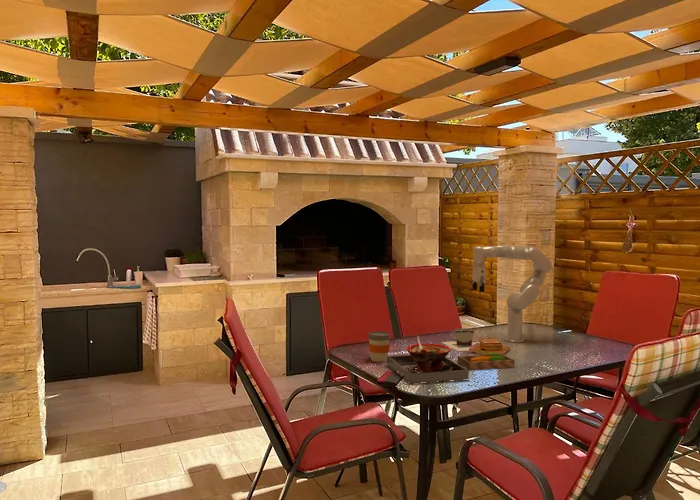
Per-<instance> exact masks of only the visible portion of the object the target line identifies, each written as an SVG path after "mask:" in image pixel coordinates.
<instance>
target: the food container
mask: <svg viewBox="0 0 700 500" xmlns="http://www.w3.org/2000/svg"><path fill="white" fill-rule="evenodd" d="M454 333H455V339H456V342H457V346H472V342H473V338H474V334H475V330H474V329H472V328H456V329H455V330H454Z"/></svg>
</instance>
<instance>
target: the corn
mask: <svg viewBox="0 0 700 500" xmlns="http://www.w3.org/2000/svg"><path fill="white" fill-rule="evenodd" d="M489 354H492V355H489ZM498 354H499V355H498ZM501 354H502V353H499V352H483V353H480V355H483V356H478V357H475V358H472V359H471V360H470V361H471V362H482V361H498V360H505V358H504V357H503V356H502V355H501Z"/></svg>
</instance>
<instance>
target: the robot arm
mask: <svg viewBox="0 0 700 500" xmlns="http://www.w3.org/2000/svg"><path fill="white" fill-rule="evenodd" d="M472 253H473V256H472V258H473V259H472V276H471V282H472V283H471V284H472V285H471V286H472V291H477V290H478V284H479V293H485V287H486V281H487V279H486V278H487V276H486V268H485V266H486V265H485V263H486V258H490V259H493V258H503V259H510V260H530V261H532V267H533V272H532V273H531V275H530V276H529V278H528V279H526V281H524V283H522V284H521V285H520V287H519V292H520V293H516V292H513V293H511V294H509V295H508V296H507V300H506V304H507V305H506V306H507V334H506V336H505V337H504V341H506V342H510V343H523V342H525V339H526V338H529V336H530V335H529V334H523V322H524V321H523V320H524V319H523V317H524V315H523V314H524V312H523V310H526V308H527V307H529V306H530V305H531V304H532V303H533V302H534V301H535V300H536V299H537V298H538V297H539V295H540V291H541V290H540V286H541V285H542V284H543V283H544V281H545V280H546V276H547V273H548V272H551V270H552V268H553V264H552V261H551V260H550V259H549V258H548V257H547V256H546V255H545V254H544V253H543V252H542V251H541V250H540V249H539V248H537V247H533V246H528V245H527V246H523V245H521V246H520V245H519V246H517V245H507V246H506V245H487V246H482V245H481V246H479V245H478V246H477V245H476V246H474V247H473V252H472ZM477 283H478V284H477Z"/></svg>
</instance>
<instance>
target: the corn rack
mask: <svg viewBox="0 0 700 500" xmlns="http://www.w3.org/2000/svg"><path fill="white" fill-rule="evenodd" d="M499 354H501V355H502V356H503V357H504V358H505V360H498V361H482V362H471V361H470V360H471V359H472V358H475V357H478V356H483V355H484V354H482V355H481V354H477V355H476V354H475V355H474V354H473V355H458V356H457V364H459V365H460V366H462V367H464V368H465V369H466V368H467V370H468V369H469V371H474V370H473V369H480V370H491V369H490V368H496V369H506V368H505V367H511V368H515V362H516V361H515V359H514V358H511V357H509V356H507V355H505V354H502V353H499ZM499 354H498V355H499ZM488 355H492V354H488Z"/></svg>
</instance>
